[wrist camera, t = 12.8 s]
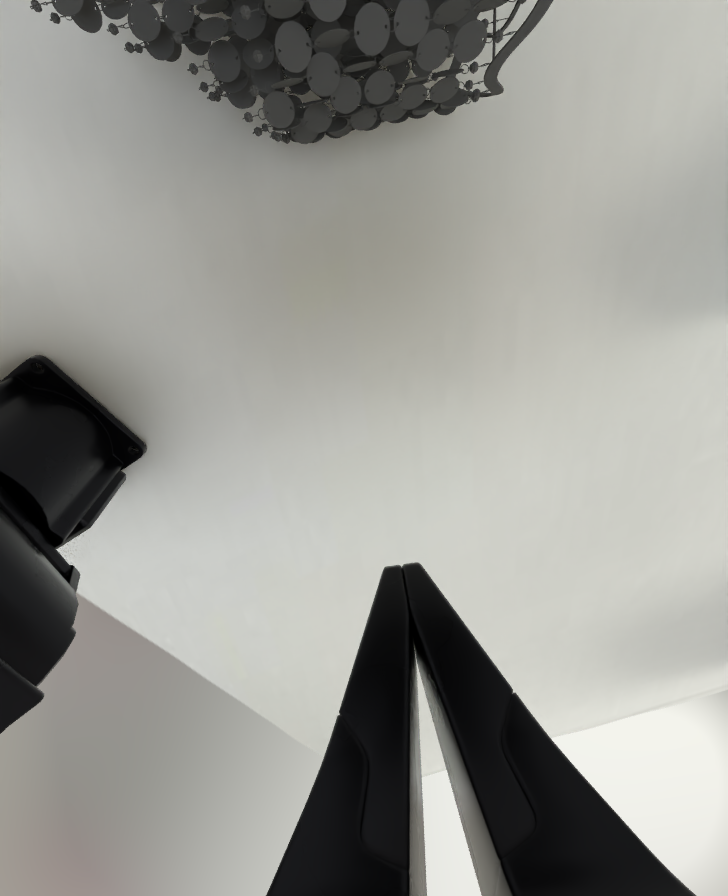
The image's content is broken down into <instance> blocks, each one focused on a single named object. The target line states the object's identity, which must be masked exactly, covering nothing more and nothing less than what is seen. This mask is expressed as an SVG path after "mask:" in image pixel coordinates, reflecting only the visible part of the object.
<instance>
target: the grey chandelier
mask: <svg viewBox="0 0 728 896" xmlns="http://www.w3.org/2000/svg"><path fill="white" fill-rule="evenodd" d="M95 1H96V2H100V3H101V4H99V5H101V8H102V10H100V9H99V7H98V6H99V5H97V4H96V2H95ZM126 1H127V0H56V2H55V0H52V2H48V3H46V2H44V3H46V4H43V3H41V4H43V5H48V4H49V3H52V4H53V6H54V8H55V9H56V11H57V12H58V13H60V14H61V15H64V16H65V18H66V16H71V17H72V19H73V20H74V22H75V23H76V24H77V25H78V26H79V27H80V28H81V29H83V30H84V31H87V32H89V33H96V32H97V31H99V30H100V28H101V26H102V15H101V12H100V11H103V13H104V14H105V15H106V16H107V17H109V18H111V19H121V18H123V17H125V16H126V15H127V14H128V23H129V27H130V29H131V31H132V33H133V34H134V35H135V36H136V37H137V38H138V39H140V40H142V41H144V42H142V43H144V44H145V47H144V46H141V43H140V44H137V43H136V44H135V49H134V46H133V45H132V44H131V43H130V42H127V43H126V44H125V46H126V48H124V50H125V49H126V50H127V51H128V52H130V53H133V52H134V51H136V52H137V53H142V52H143V48H146V49H147V51H148V52H149V53H150V55H151V56H153V57H154V58H155V59H158V60H166V61H170V62H174V61H176V60H177V59H178V58H179V57H180V55H181V43H182V44H185V45H186V46H187V48H188V49H189V50H190V51H191V52H193V53H194V54H196V55H204V54H206V53H207V52H208V50H209V49H210V50H209V54H208V60H205V61H208V62H209V66H210V70H211V71H212V73H213V74H214V75H215V78H214V79H216V81H219V86H217V87H216V86H215V85H214V83H213V84H211V85H207V83H205V82H202V83H201V85H200V87H199V88H200V89H199V90H202V91H203V92H207V91H208V86H212V85H214V86H215V89H216V91H214V92H215V93H214V92H210V93H209V99H210V100H211V101H215V100H216V101H217V102H219V101H220V100H221V97H220V96H223V95H222V93H223V92H224V91H225V92H226V94H227V96H226V94H224V95H225V96H224V97H228V99H229V101H230V102H231V103H232V104H233V105H234V106H235V107H237V108H241V109H245V108H249V107H251V106H252V105H253V104H254V103H255V101H256V96H257V95H260V96H261V97H262V98H263V99H264V103H263V112H264V116H265V119H266V120H267V121H268V122H269V123H270V124H271V126H273V130H275V131H282V132H283V130H284V131H286V134H283V133H282V134H281V133H276V132H275V131H273V132H272V133H271V137H272V138H273V139H275V140H276V141H278V142H279V141H280V140H281V137H282V140H283V142H285V143H287V144H288V143H289V142H290V140H292V141H294V142H298V143H301V144H308V143H314V142H317V141H319V140H321V139H322V138H323V137H324V135H328V136H329V137H331V138H340V137H342V136H344V135H346V134H348V133H349V132H350V131H352V130H355V129H356V130H365V131H367V130H373V129H375V128H377V127H378V126H379V125H380V124H381V122H384V121H387V122H390V123H400V122H403V121H405V120H406V119H408V117H411V118H422V117H424V116H426V115H427V114H428V113H429V112H431V111H433V110H434V111H435V112H436V113H438V114H440V115H448V114H450V113H452V112H453V111H454V110H455V108H456V107H457V106H460V105H462V104H464V103H466V102H468V100H470V99H472V100H473V102H476V101H478V99H479V97H488V96H493V95H498V94H501V93H503V91H504V89H503V86H502V85H501V84H500V83H499V82H498V80H497V75H498V72H499V70H500V68H501V66H502V65H503V63H504V62H505V61H506V59H507V58H508V57H509V55H510V54H511V53H512V52H513V51H514V50H515V48H516V47H517V46H518V45H519V44H520V43H521V42H522V41H523V40H524V39H525V38H526V37H527V35H528V34H529V33H530V32H531V31H532V30H533V29H534V27H535V26H536V25H537V24H538V22H539V21H540V20H541V18H542V17H543V16H544V14H545V13H546V11H547V10H548V8H549V7H550V5H551V3H552V2H553V0H538V1H537V3H536V5H535V6H534V8H533V10H532V11H531V13H530V14H529V16H528V17H527V19H526V20H525V21H524V23H523V24H522V25H521V27H520V28H519V29H518V31H514V32H516V33H515V34H514V35H513V36H512V38H511V39H510V40H509V41H508V42H507V43H506V44H505V46H504V47H503V48H502V49H501V50H500V51H499V53H498V54H497V55H496V56H495V42H496V43H499V42H500V41H501V40H502V38H503V36H505V35H511V34H513V33H514V32H513V33H511V32H509V33H507V34H505V35H503V31H504V30H505V29H506V28H507V27H508V26H509V24H510V23H511V21H512V20H513V18H514V16H515V14H516V12H517V10H518V8H519V6H520V4H523V3H524V2H525V1H526V0H517V2H516V4H515V7H514V9H513V11H512V13H511V15H510V16H509V18H505V19H508V20H507V21H506V23H505V24H504V26H503V27H502V28H501V29H500V30H498V31H497V32H496V21H497V22H498V21H499V20H496V8H497V7H499V6H501V5H503V4H504V3H506V2H507V1H509V0H128V2H126ZM164 1H165V2H164ZM515 1H516V0H515ZM158 2H160V3H163V2H164V4H163V8H162V16H160V17H163V18H160V17H159V14H158V12H157V10H156V9H155V8H154V7H153V6H152V4H156V3H158ZM509 2H514V1H509ZM131 3H132V4H133V5H131ZM31 4H32V6H30V8H31V7H32V8H31V9H34V10H35V11H36V12H41V11H42V8H41V4H39V2H38V1H37V0H32V1H31ZM194 5H197V6H196V8H197V10H198V11H199V12H201V13H205V14H214V13H219V12H221V11H222V12H223V13H224V14H225V15H227V16H231V17H232V19H227V20H225V19H223V18H219V17H212V18H208V19H205V20H202V19H201V18H200V17H198V16H199V15H200V13H199V15H194V9H193V7H194ZM104 6H106V7H105V8H104ZM95 7H96V10H95ZM200 8H201V9H200ZM387 8H389V9H391V10H393V11H395V12H392V11H385V9H387ZM491 9H494V14H493V22H491V23H493V33H487V29H486V28H487V27H488V24H489V23H488V20H487V19H483V20H482V21H480V20H477V17H478V15H479V13H480V12H484V11H488V10H491ZM190 10H191V12H189V11H190ZM301 12H303V13H301ZM305 13H306V14H305ZM166 15H167V18H166ZM61 17H63V16H61ZM156 17H157V20H156V19H155V18H156ZM66 19H67V18H66ZM72 19H71V20H72ZM160 19H163V20H164V22H161V21H160ZM50 20H51V21H52V20H53V22H54V23H57V24H59V23H60V17H59V16H58V14H57V13H51V19H50ZM67 20H68V19H67ZM501 20H504V19H501ZM131 23H133V26H132V24H131ZM125 24H127V23H125ZM125 24H124V25H125ZM124 25H120V26H123V27H122V28H125V27H124ZM309 25H311V26H313V27H312V28H311V29H309V30H308V32H307V31H306V30H305V29H306V28H307V27H308V26H309ZM445 25H446V26H445ZM120 26H118V27H120ZM108 27H109V31H110V32H111V33H112V34H113V35H117V34H118V33H119V31H118V28H117V26H116V25H115V24H113V23H111V24H109V25H108ZM129 27H127V28H129ZM444 27H445V30H444ZM442 29H443V30H442ZM107 31H108V29H107ZM109 31H108V32H109ZM447 31H449V32H447ZM510 33H511V34H510ZM492 34H493V35H492ZM225 36H229V37H231V38H230V39H229V40H228V41H225V40H218V39H220V38H221V37H225ZM482 38H484V40H483V41H482ZM487 38H492V40H493V59H492V62H491V63H485V64H487V65H488V64H489V66H488V68H487V70H486V72H485V75H484V84H485V86H486V87H487V88H488V89H489V91H490V92H491V93H483V92H480V90H479V89H475V90H474V91H473V92H471V91H470V89H472V87H473V82H472V81H471V80H468V81H467V82H466V84H465V85H464V86H465V88H466V90H468V91H466V90H464V89H463V90H462V89H460V88H459V81H458V79H457V78H455V77H456V74H458V73H461V72H462V73H463V71H464V69H461V68H460V66H461V63H467V62H470V61H472V60H474V59H475V58H476V57H477V56H478V55H479V54H480V53H481V51H482V50H483V48H484V46H485V43H490V42H486V39H487ZM246 39H247V40H250V41H247V40H246ZM215 40H218V41H216V42H215V43H213V44H212V46H211V41H215ZM147 42H148V43H149V44H148V43H147ZM491 42H492V41H491ZM210 46H211V47H210ZM126 50H125V51H126ZM452 53H453V54H454V55H451V54H452ZM450 55H451V57H452V56H454V58H453V61H452V64H451V66H450V69H449V70H445V71H440V72H437V73H434V74H433V73H432V74H433V75H432V77H431V79H432V80H434V81H436V80H437V79H438V77H444V76H446V78H443V79H441V80H440V81H438V82H437V83H436V84H435V85H434V86H433V87H431V90H430V89H429V88H428V89H426V87H425V86H423V85H422V84H424V83H426V82H427V80H428V78H429V76H431V75H430V73H431V72H432V70H434V69H436V68H438V67H439V66H440V65H441V64H442V63H443V62H444V61H445V59H446V57H450ZM408 59H409V60H411V61H412V69H413V72H414V74H415V75H416V76H417V77H414V78H410V79H408V80H405V79H406V78H407V76H408V74H409V69H410V67H409V63H410V62H408ZM211 63H213V64H214V65H213V66H212V64H211ZM278 63H280V65H279V64H278ZM203 64H204V62H203ZM414 64H415V66H414ZM485 64H483V65H484V66H486V65H485ZM381 65H382V66H387V67H386V68H387V71H386V70H383V69H380V68H381V67H382V66H381ZM406 65H407V66H408V67H406ZM464 65H466V64H464ZM483 65H481V66H478V64H477V62H473V63H472V64H471V65H470V67H468V69H470V72H471V73H473V74H474V73H475V72H476V71H477V70H478V67H482V66H483ZM202 66H203V67H204V65H202ZM202 66H199V67H202ZM282 66H283V67H282ZM380 66H381V67H380ZM462 66H463V65H462ZM462 66H461V67H462ZM467 66H468V65H467ZM379 67H380V68H379ZM204 68H205V67H204ZM282 68H283V72H284V74H285V77H286V76H287V78H284V75H283V72H282ZM285 68H286V69H285ZM459 68H460V69H459ZM384 69H385V68H384ZM206 70H207V69H206ZM210 70H208V71H210ZM389 70H390V71H389ZM410 70H411V69H410ZM187 71H190V72H191V73H192V74H194V75H196V74H197V72H198V67H197V66H196V65H195V64H194V63H191V64H190V65H189V69H188V70H187ZM468 71H469V70H468ZM467 73H468V72H467ZM342 74H344V75H350V76H351V77H350V76H343V75H342ZM463 74H466V73H463ZM341 76H343V77H341ZM361 76H363V78H365V79H363V80H361V81H359V82H357V81H356V80H357V79H362V78H360V77H361ZM284 79H285V80H284ZM432 80H429V82H430V81H432ZM214 82H215V81H214ZM222 82H223V84H222ZM480 82H481V83H482V82H483V81H479V82H478V83H475V84H480ZM462 83H463V82H462ZM402 84H405V87H404V88H403V91H402V93H400V94H398V93H397V92H396V91H395V90H398V89H400V88H402ZM463 84H464V83H463ZM288 86H289V88H290V89H291V90H292V91H288V92H290V94H291V93H296V94H300V95H303V94H305V93H307V92H308V91H309V90H311V89H312V90H311V91H313V92H314V93H316V94H317V95H318V96H319V97H320V98H322V99H321V100H316V101H311V102H307V103H303V104H302V101H301V100H300V99H299V98H298V97H297V96H295V95H289V94H287V95H286V94H285V93H284V89H285V87H288ZM222 90H223V91H222ZM427 90H429V92H430V99H431V100H425V99H426V98H427V97H426V96H428V95H429V94H428V95H427ZM486 91H487V90H486ZM486 91H484V92H486ZM487 92H488V91H487ZM229 93H230V94H229ZM286 93H287V92H286ZM399 95H400V96H399ZM329 98H330V101H331V103H327V100H328V99H329ZM396 98H398V99H396ZM468 98H470V99H468ZM207 99H208V97H207ZM401 99H402V100H401ZM428 99H429V98H428ZM323 102H326V103H327V104H332V106H333V108H334V109H335V110H330V109H329V107H328V106H327V105H325V104H323ZM470 102H471V101H470ZM470 102H469V103H470ZM359 103H360V104H361V105H360V106H358V105H359ZM469 103H468V104H469ZM466 104H467V103H466ZM303 106H306V107H305V108H304V107H303ZM300 107H302V108H300ZM261 109H262V108H261ZM259 110H260V109H259ZM266 112H267V113H266ZM334 114H335V115H336V116H334V117H332V115H334ZM328 115H330V117H328ZM255 116H259V111H258V115H255ZM253 117H254V116H252V114H251V113H249V112H246V113H245V114H244V118H243V119H245V120H246V122H249V123H250V122H252V121H253ZM259 118H260V117H259ZM260 119H261V118H260ZM262 120H264V119H262ZM268 125H269V124H268ZM271 126H267V124H263V125H262V128H259V127H256V128H255V129H254V132H253V134H254V133H255V134H256V136H260V135H262V131H267V130H268V127H271ZM262 129H263V130H262ZM288 131H289V133H288ZM268 132H269V131H268ZM269 133H270V132H269ZM325 133H326V134H325ZM281 135H282V136H281ZM271 137H270V138H271Z"/></svg>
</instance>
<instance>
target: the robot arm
mask: <svg viewBox="0 0 728 896" xmlns="http://www.w3.org/2000/svg"><path fill="white" fill-rule="evenodd" d="M36 363H37V364H39V365H41V366H42V368H43V370H41V369H39V368H38V367H37V366H36ZM132 447H136V448H137V449H138V450H139V451H136V450H134V449H133V448H132ZM146 449H147V448H146V445H145V444H144V442H142V441H141V440H140V439H139V438H138V437H137V436H136V435H134V434H133V433H132V432H131V431H130V430H129V429H128V428H127V427H125V426H124V425H123V424H122V423H121V422H120V421H119V420H117V419H116V418H115V417H114V416H113V415H112V414H111V413H109V412H108V411H107V410H106V409H105V408H104V407H103V406H101V405H100V404H99V403H98V402H97V401H96V400H95V399H93V398H92V397H91V396H90V395H89V394H88V393H87V392H86V391H84V390H83V389H82V388H81V387H80V386H79V385H78V384H76V383H75V382H74V381H73V380H72V379H71V378H70V377H68V376H67V375H66V374H65V373H64V372H63V371H62V370H60V369H59V368H58V367H57V366H56V365H55V364H54V363H52V362H51V361H50V360H49V359H48V358H46V357H44V356H41V355H35V356H33V357H31V358H29V359H27V360H26V361H25V362H23V363H22V364H21V365H20V366H18V367H17V368H16V369H15V370H14V371H12V372H11V373H10V374H9V375H8V376H6V377H5V378H4V379H3V380H1V381H0V734H1V733H2V732H3V731H4V730H5V729H6V728H7V727H8V726H9V725H11V724H12V723H13V722H15V721H16V720H17V719H19V718H20V717H21V716H22V715H24V714H25V713H26V712H28V711H29V710H30V709H31V708H33V707H34V706H36V705H37V704H38V703H39V702H41V700H42V699H43V697H44V693H43V692H42V691H41V690H39V689H38V688H37V686H38V685H39V684H40V683H41V682H42V681H43V680H44V679H45V677H46V676H47V675H48V674H49V673H50V671H51V670H52V669H53V668H54V667H55V665H56V664H57V663H58V662H59V661H60V659H61V658H62V657H63V656H64V654H65V652H66V650H67V649H68V647H69V646H70V644H71V642H72V640H73V639H74V637H75V634H76V631H75V629H74V628H73V627H72V625H73V624H74V620H75V616H76V612H77V607H78V601H77V597H76V591H77V586H78V582H79V578H80V573H79V572H78V570H77V569H76V568H75V567H74V566H73V565H69V564H68V563H67V562H66V561H65V559H64V558H63V557H62V556H61V555H60V554H59V552H58V551H57V550H56V549H58V548H59V547H61V546H62V545H64V544H66V543H67V542H69V541H70V540H72V539H73V538H75V537H77V536H78V535H80V534H81V533H83V532H84V531H86V530H88V529H89V528H90V527H91V526H92V525H93V524H94V522H95V521H96V520H97V518H98V517H99V515H100V514H101V513H102V511H103V510H104V509H105V507H106V506H107V504H108V503H109V502H110V500H111V499H112V498H113V496H114V495H115V493H116V492H117V491H118V489H119V488H120V487H121V485H122V484H123V483H124V481H125V480H126V474H125V473H123V472H122V471H121V470H123V469H124V468H126V467H127V466H129V465H130V464H132V463H133V462H135V461H136V460H138V459H139V458H141V457H142V456H143V454H144V453H145V452H146ZM414 648H415V650H414ZM415 654H416V657H415ZM416 659H417V664H418V668H419V672H420V675H421V679H422V683H423V686H424V690H425V693H426V697H427V700H428V704H429V708H430V711H431V715H432V718H433V722H434V726H435V729H436V733H437V736H438V740H439V744H440V747H441V751H442V754H443V758H444V761H445V765H446V769H447V772H448V776H449V779H450V783H451V786H452V790H453V793H454V797H455V801H456V804H457V808H458V812H459V815H460V819H461V822H462V826H463V830H464V833H465V837H466V840H467V844H468V848H469V851H470V855H471V858H472V862H473V866H474V869H475V873H476V876H477V880H478V883H479V887H480V891H481V894H482V896H696V895H695V894H694V893H693V892H692V891H690V890H689V889H688V888H687V887H686V886H685V885H684V884H683V883H682V882H681V881H680V880H679V879H678V878H676V877H675V876H674V875H673V874H672V873H671V872H670V871H669V870H668V869H667V868H666V867H665V866H664V865H663V864H662V863H661V862H660V861H659V860H658V859H657V857H655V855H654V854H653V853H652V852H651V851H650V850H649V849H648V848H647V847H646V846H645V845H644V843H642V841H641V840H640V839H639V838H638V837H637V836H636V835H635V834H634V833H633V831H632V830H631V829H630V828H629V827H628V826H627V825H626V824H625V822H624V821H623V820H622V819H621V818H620V817H619V816H618V815H617V814H616V812H615V811H614V810H613V809H612V808H611V807H610V806H609V805H608V803H607V802H606V801H605V800H604V799H603V798H602V797H601V796H600V795H599V793H598V792H597V791H596V790H595V789H594V788H593V787H592V786H591V784H590V783H589V782H588V781H587V780H586V779H585V778H584V777H583V776H582V774H581V773H580V772H579V771H578V770H577V769H576V768H575V767H574V765H573V764H572V763H571V762H570V761H569V760H568V758H567V757H566V756H565V755H564V754H563V753H562V751H561V750H560V749H559V748H558V747H557V746H556V744H554V742H553V741H552V740H551V738H550V737H549V736H548V735H547V733H546V732H545V731H544V730H543V728H542V727H541V726H540V724H539V723H538V722H537V721H536V719H535V718H534V717H533V715H532V714H531V713H530V712H529V710H528V709H527V707H526V706H525V705H524V703H523V702H522V701H521V699H520V698H519V697H518V695H517V694H516V693H513V689H512V687H511V686H510V685H509V683H508V682H507V681H506V679H505V678H504V677H503V675H502V674H501V672H500V671H499V670H498V668H497V667H496V666H495V664H494V663H493V662H492V660H491V659H490V658H489V656H488V655H487V653H486V652H485V651H484V649H483V648H482V647H481V645H480V644H479V643H478V641H477V640H476V639H475V637H474V636H473V634H472V633H471V632H470V630H469V629H468V628H467V626H466V625H465V624H464V622H463V621H462V620H461V618H460V617H459V615H458V614H457V613H456V611H455V610H454V609H453V607H452V606H451V605H450V603H449V602H448V601H447V599H446V598H445V596H444V595H443V594H442V592H441V591H440V590H439V588H438V587H437V586H436V584H435V583H434V582H433V580H432V579H431V577H430V576H429V575H428V573H427V572H426V571H425V569H424V568H423V567H422V565H421V564H420V563H409V564H404V565H403V566H402V567H401V566H400V565H395V566H388V567H385V568H384V570H383V572H382V576H381V579H380V582H379V585H378V588H377V592H376V595H375V598H374V601H373V604H372V608H371V611H370V614H369V617H368V620H367V624H366V627H365V630H364V633H363V637H362V640H361V643H360V646H359V649H358V653H357V656H356V659H355V662H354V665H353V669H352V672H351V675H350V678H349V681H348V685H347V688H346V691H345V694H344V698H343V701H342V704H341V707H340V710H339V713H340V715H338V716H337V719H336V723H335V726H334V729H333V732H332V735H331V738H330V741H329V744H328V747H327V750H326V753H325V756H324V759H323V762H322V765H321V767H320V770H319V772H318V775H317V777H316V780H315V783H314V785H313V787H312V790H311V793H310V795H309V798H308V800H307V802H306V805H305V807H304V809H303V812H302V814H301V816H300V819H299V821H298V823H297V826H296V828H295V831H294V833H293V835H292V838H291V840H290V842H289V844H288V847H287V849H286V851H285V853H284V856H283V858H282V861H281V863H280V865H279V867H278V870H277V872H276V874H275V877H274V879H273V881H272V884H271V886H270V888H269V890H268V893H267V895H266V896H427V889H426V866H425V843H424V821H423V799H422V776H421V754H420V731H419V709H418V687H417V668H416Z"/></svg>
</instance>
